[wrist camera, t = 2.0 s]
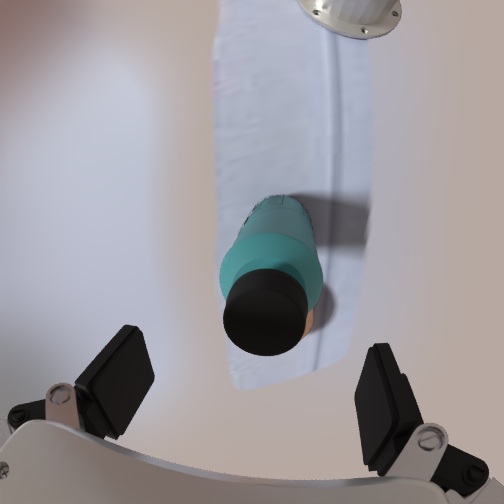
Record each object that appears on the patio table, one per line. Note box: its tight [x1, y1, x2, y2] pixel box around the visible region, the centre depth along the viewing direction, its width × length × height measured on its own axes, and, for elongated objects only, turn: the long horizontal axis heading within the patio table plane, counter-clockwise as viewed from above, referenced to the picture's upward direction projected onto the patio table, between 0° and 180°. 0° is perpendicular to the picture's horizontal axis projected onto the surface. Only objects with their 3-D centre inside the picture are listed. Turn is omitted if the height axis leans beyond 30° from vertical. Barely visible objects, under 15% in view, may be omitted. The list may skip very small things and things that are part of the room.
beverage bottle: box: [220, 194, 323, 356], centre depth 21 cm, size 6×7×20 cm
